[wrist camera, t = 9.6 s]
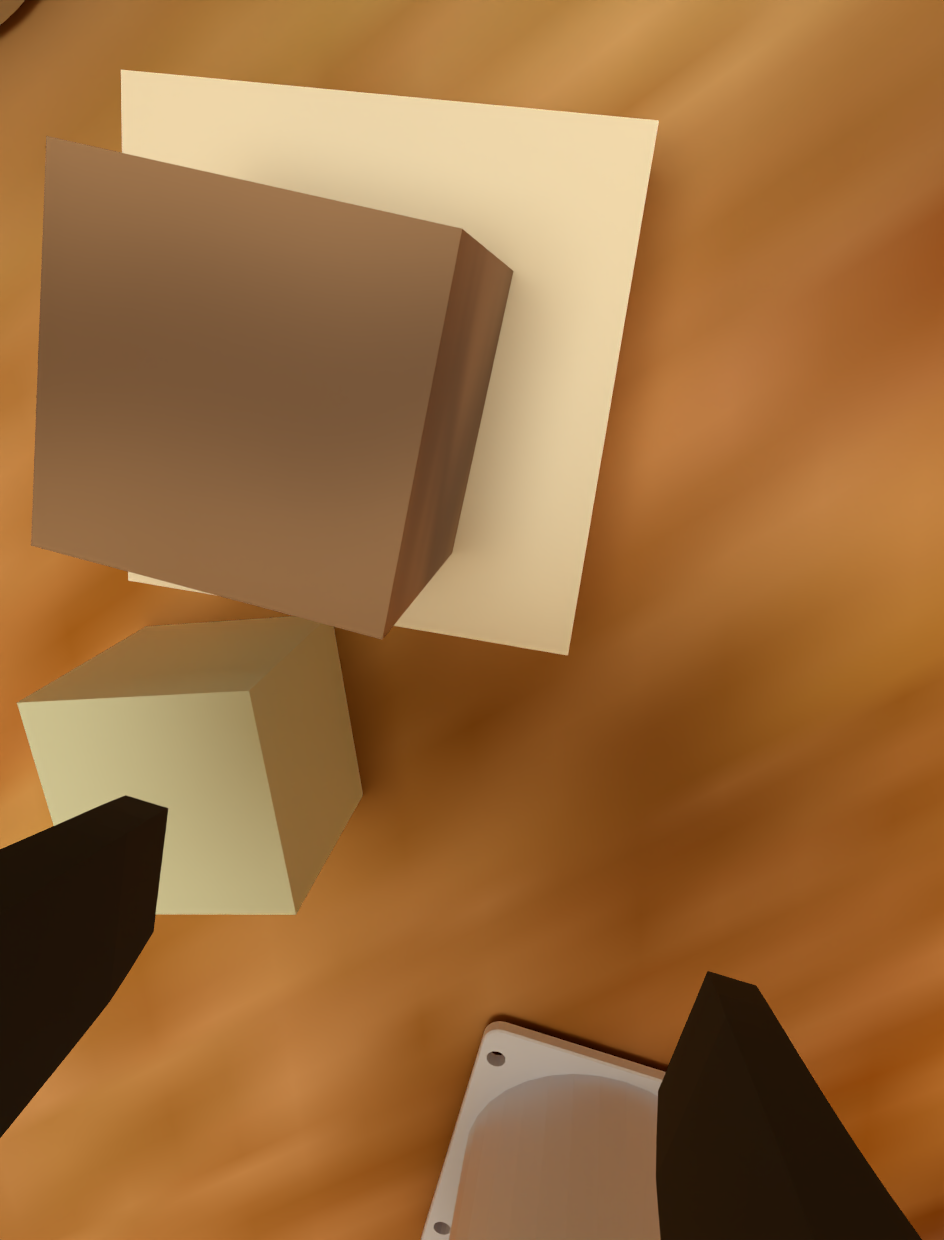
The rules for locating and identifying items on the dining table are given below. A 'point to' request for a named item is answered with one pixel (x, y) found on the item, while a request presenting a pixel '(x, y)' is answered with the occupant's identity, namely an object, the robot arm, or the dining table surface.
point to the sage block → (210, 754)
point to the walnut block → (255, 386)
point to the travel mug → (8, 8)
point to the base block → (535, 310)
